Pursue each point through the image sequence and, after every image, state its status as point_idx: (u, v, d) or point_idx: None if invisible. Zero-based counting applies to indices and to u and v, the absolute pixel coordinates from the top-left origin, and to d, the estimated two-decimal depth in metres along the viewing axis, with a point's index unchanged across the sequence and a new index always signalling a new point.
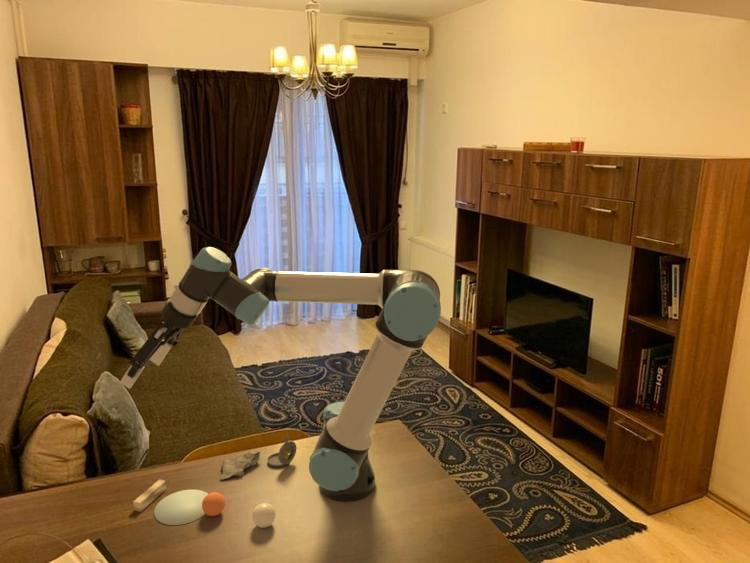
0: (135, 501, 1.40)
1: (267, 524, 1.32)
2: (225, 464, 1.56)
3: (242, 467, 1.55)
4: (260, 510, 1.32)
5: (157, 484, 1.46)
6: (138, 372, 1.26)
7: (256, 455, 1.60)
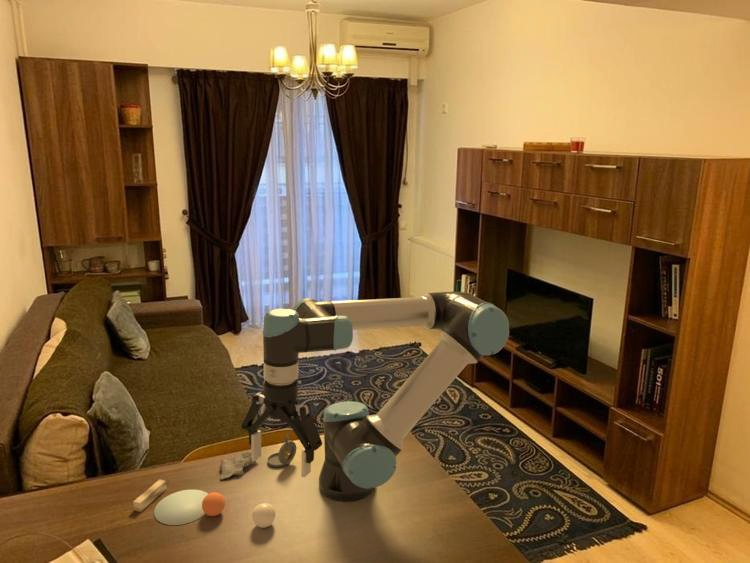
0: (135, 501, 1.40)
1: (267, 524, 1.32)
2: (224, 464, 1.56)
3: (241, 466, 1.56)
4: (260, 510, 1.32)
5: (157, 484, 1.46)
6: None
7: None
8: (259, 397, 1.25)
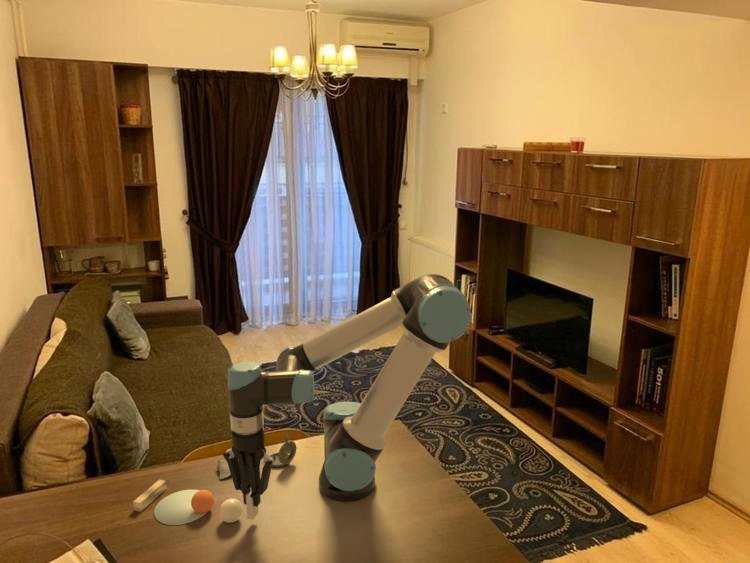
0: (135, 501, 1.40)
1: (221, 510, 1.34)
2: (221, 464, 1.56)
3: None
4: None
5: (157, 484, 1.46)
6: None
7: None
8: (229, 452, 1.32)
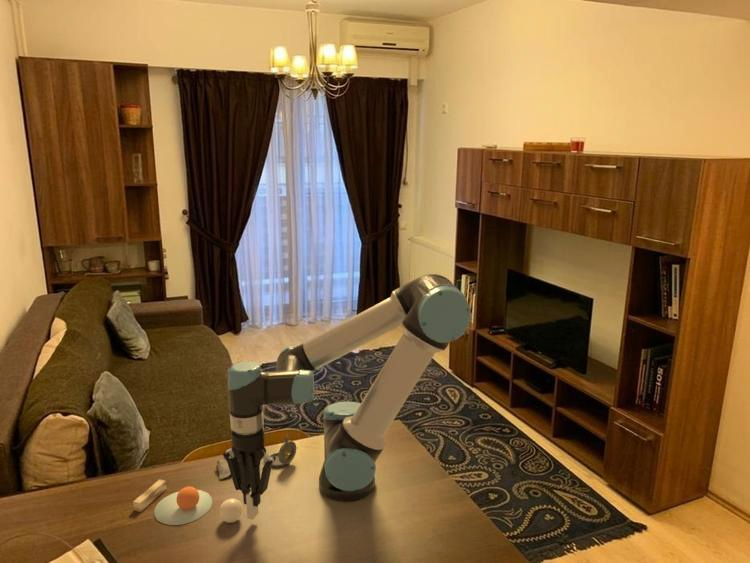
0: (135, 501, 1.40)
1: (221, 510, 1.34)
2: (221, 464, 1.56)
3: None
4: None
5: (157, 484, 1.46)
6: None
7: None
8: (228, 452, 1.32)
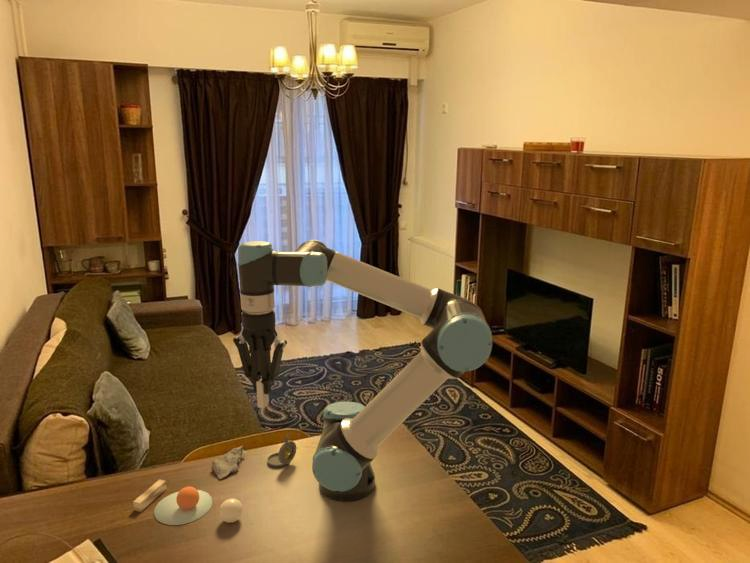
0: (135, 501, 1.40)
1: (221, 510, 1.34)
2: (217, 464, 1.56)
3: (235, 463, 1.57)
4: None
5: (157, 484, 1.46)
6: None
7: (241, 450, 1.63)
8: (239, 337, 1.29)
